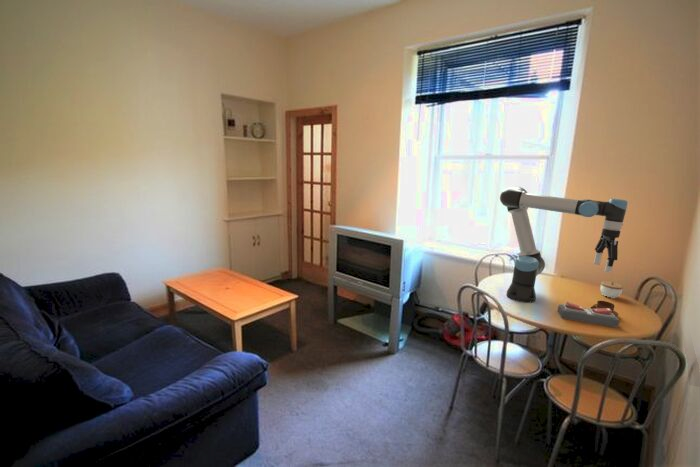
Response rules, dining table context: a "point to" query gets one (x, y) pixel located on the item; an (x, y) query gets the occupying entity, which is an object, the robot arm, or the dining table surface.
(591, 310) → the power strip
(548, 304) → the dining table surface
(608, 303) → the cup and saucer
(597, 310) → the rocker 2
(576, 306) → the rocker
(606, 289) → the lidded jar
